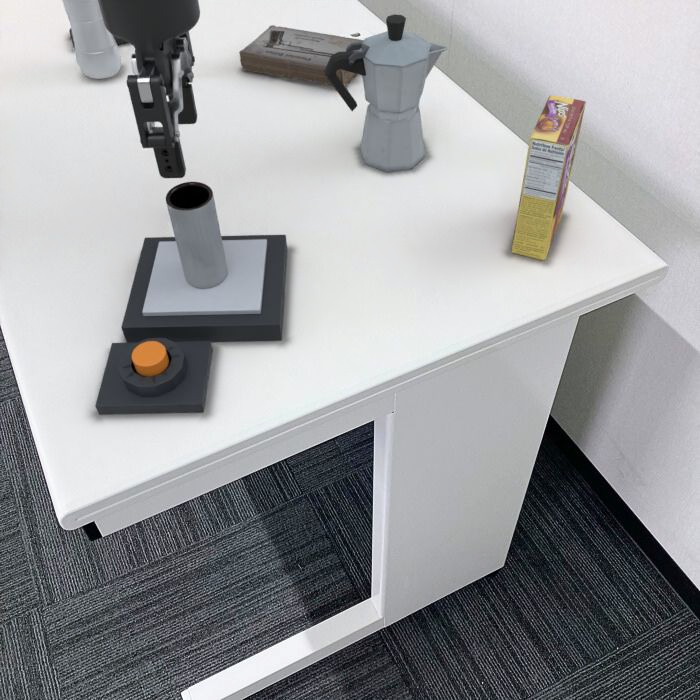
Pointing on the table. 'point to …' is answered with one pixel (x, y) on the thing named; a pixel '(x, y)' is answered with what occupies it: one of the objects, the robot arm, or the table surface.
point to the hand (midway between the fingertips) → (180, 147)
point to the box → (295, 54)
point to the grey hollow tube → (197, 234)
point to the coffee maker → (389, 92)
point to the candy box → (547, 176)
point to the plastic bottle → (92, 39)
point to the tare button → (150, 358)
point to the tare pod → (156, 380)
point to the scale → (209, 294)
